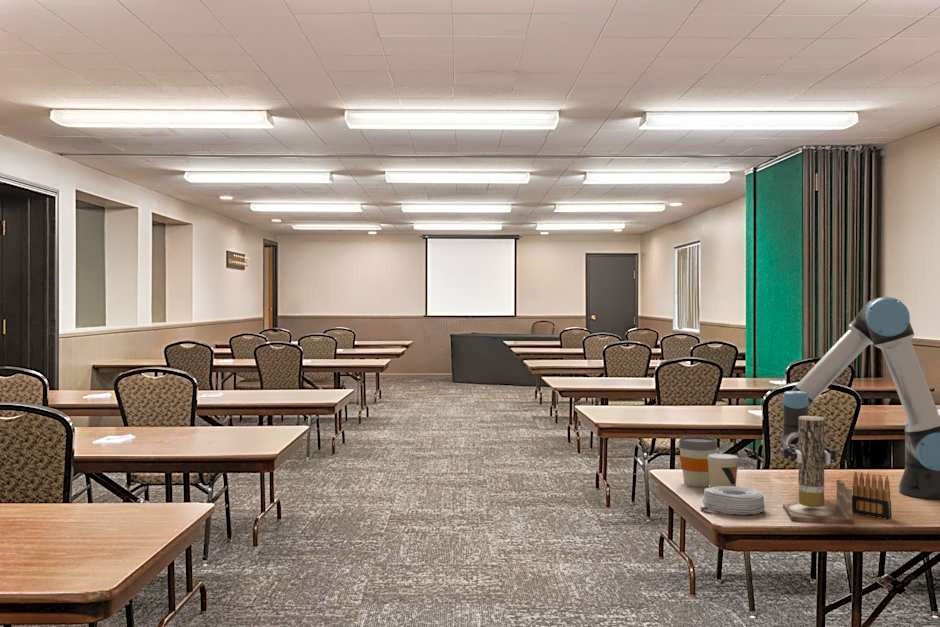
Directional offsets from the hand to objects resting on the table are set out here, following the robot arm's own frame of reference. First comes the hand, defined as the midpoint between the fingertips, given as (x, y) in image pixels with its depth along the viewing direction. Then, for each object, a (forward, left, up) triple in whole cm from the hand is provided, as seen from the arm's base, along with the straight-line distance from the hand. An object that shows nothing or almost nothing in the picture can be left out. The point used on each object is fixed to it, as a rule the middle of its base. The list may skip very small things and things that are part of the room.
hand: (814, 458), depth 231 cm
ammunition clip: (-17, -8, -17) cm, 25 cm away
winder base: (-2, -5, -17) cm, 18 cm away
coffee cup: (+22, -29, -17) cm, 41 cm away
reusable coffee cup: (+29, -43, -17) cm, 55 cm away
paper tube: (0, -5, -14) cm, 15 cm away
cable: (+21, -8, -18) cm, 29 cm away
